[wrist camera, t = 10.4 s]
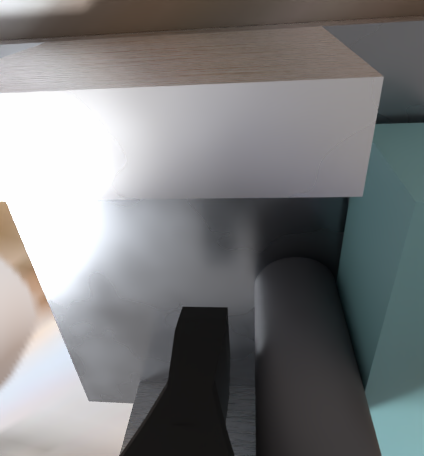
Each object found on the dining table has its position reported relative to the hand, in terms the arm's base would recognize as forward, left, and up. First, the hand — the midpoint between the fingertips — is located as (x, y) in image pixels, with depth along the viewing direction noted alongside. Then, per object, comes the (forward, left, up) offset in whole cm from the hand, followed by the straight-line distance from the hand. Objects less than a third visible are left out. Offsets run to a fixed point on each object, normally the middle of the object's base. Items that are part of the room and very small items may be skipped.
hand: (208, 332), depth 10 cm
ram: (0, -3, -2) cm, 4 cm away
